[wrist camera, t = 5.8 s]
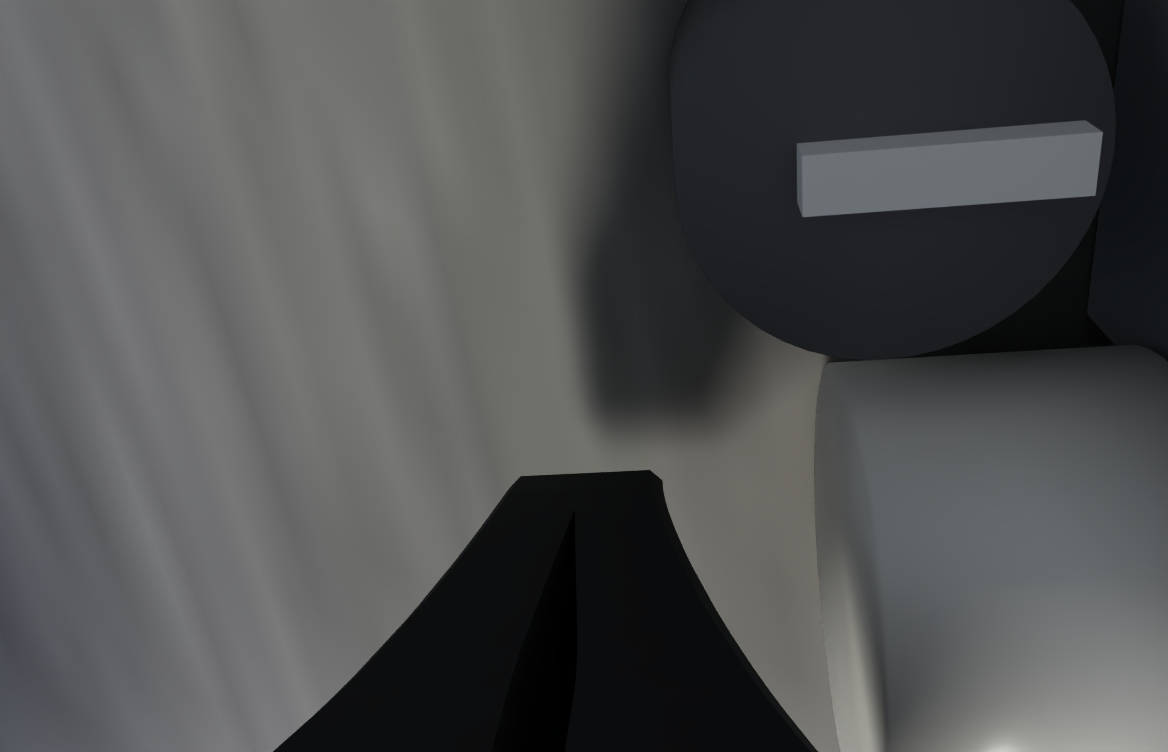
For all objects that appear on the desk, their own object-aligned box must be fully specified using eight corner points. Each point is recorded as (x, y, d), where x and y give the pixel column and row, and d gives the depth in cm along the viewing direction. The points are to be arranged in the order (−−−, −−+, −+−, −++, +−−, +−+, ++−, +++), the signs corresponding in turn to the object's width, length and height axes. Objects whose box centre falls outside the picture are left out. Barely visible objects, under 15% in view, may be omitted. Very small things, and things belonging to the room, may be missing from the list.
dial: (678, 232, 10) (687, 390, 8) (659, -80, 9) (661, -36, 6) (976, 211, 10) (1106, 365, 7) (998, -114, 9) (1163, -85, 6)
